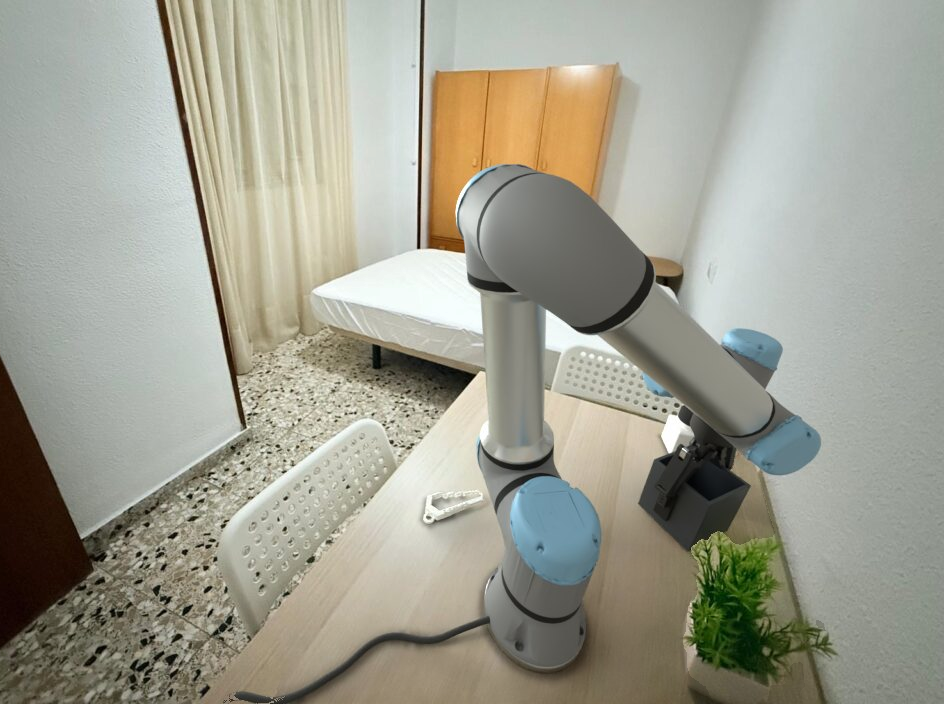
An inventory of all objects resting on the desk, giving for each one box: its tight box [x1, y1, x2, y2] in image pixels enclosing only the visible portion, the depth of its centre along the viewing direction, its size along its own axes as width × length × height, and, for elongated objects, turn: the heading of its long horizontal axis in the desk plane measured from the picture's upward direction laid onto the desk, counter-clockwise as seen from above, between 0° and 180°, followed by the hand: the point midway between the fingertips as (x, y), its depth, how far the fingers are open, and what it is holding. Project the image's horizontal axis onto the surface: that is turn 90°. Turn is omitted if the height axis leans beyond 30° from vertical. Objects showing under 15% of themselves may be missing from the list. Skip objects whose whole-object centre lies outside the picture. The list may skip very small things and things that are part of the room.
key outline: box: [422, 489, 484, 525], centre depth 80 cm, size 13×5×2 cm, turn 114°
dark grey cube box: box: [637, 451, 752, 552], centre depth 76 cm, size 12×11×11 cm
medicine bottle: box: [660, 404, 694, 454], centre depth 94 cm, size 7×7×12 cm
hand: (681, 505), depth 78 cm, fingers closed on dark grey cube box, 11 cm apart
